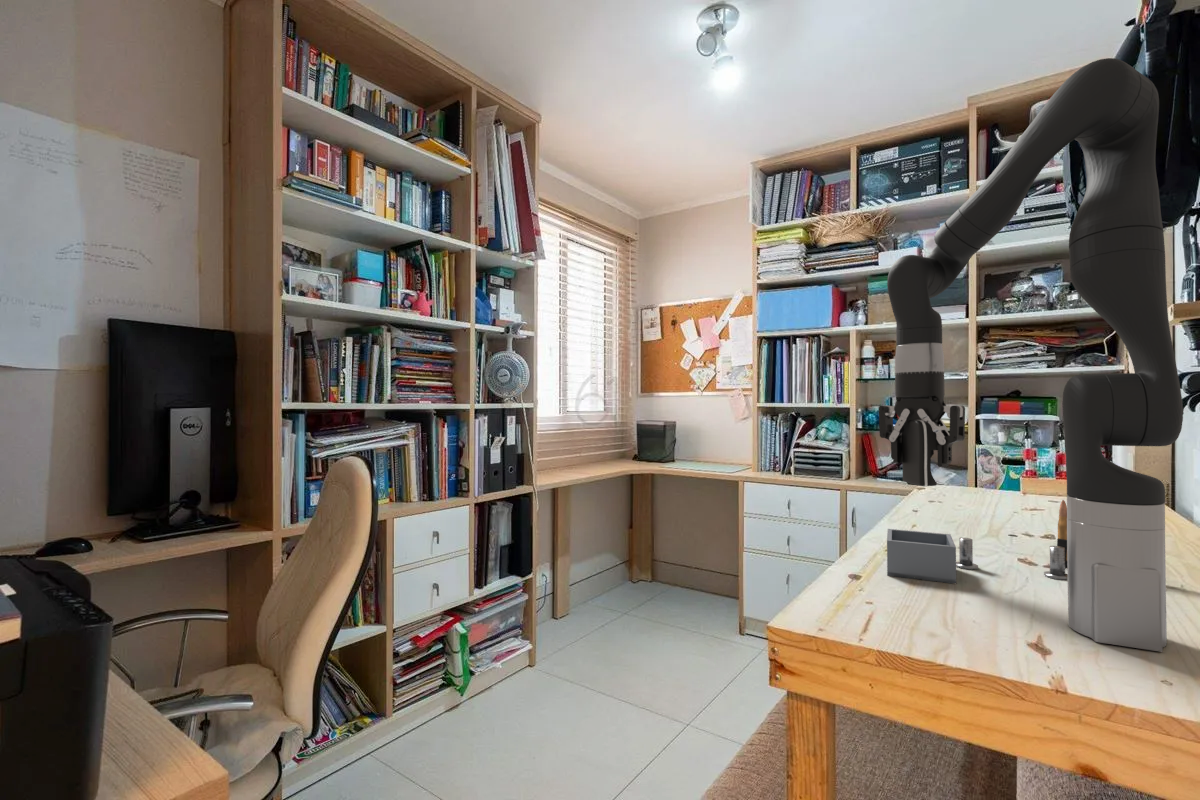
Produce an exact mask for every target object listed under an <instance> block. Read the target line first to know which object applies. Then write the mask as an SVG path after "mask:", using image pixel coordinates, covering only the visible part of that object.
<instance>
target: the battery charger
mask: <svg viewBox="0 0 1200 800" xmlns="http://www.w3.org/2000/svg"><path fill="white" fill-rule="evenodd" d="M934 423H935V425H936V426H938V424H937V423H936V422H934ZM903 428H904V432H902V463H901V464H902V481H903V482H905V483H908V484H911V485H914V486H918V487H925V488H926V487H936V486H937V485H938V483H937V481H936V479H935V478H934V476H933V474H932V468H931V466H932V465H931V463H932V459H931V458H932V456H934V454H935V452H934V451H938V449H937V445H940V444H939V442H938V441H937V437H936V433H935V432H933V430H932V427H931V425H930V424H929V423H928V422H925V421H923V420H909V421H908V426H905V425H904V427H903Z"/></svg>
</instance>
